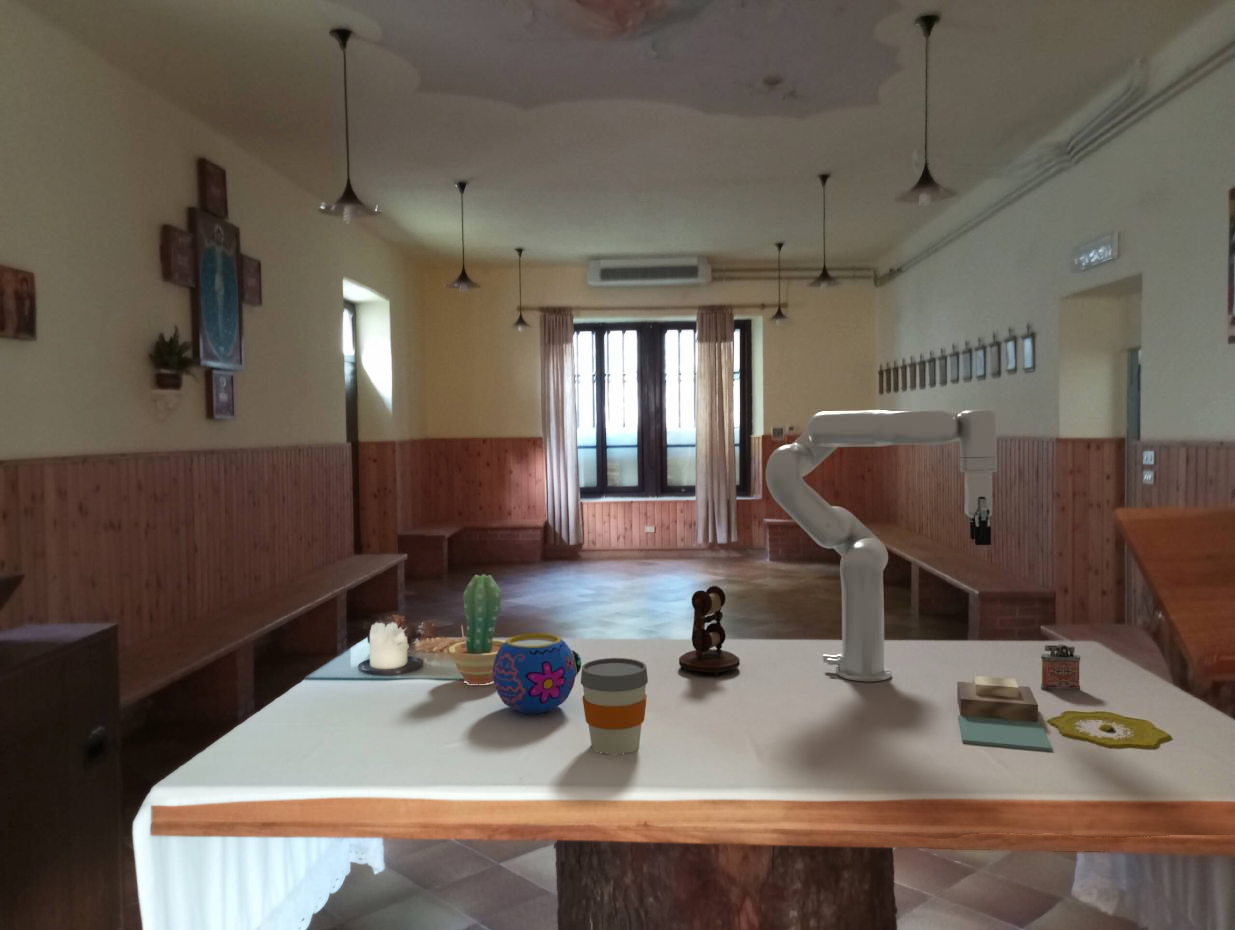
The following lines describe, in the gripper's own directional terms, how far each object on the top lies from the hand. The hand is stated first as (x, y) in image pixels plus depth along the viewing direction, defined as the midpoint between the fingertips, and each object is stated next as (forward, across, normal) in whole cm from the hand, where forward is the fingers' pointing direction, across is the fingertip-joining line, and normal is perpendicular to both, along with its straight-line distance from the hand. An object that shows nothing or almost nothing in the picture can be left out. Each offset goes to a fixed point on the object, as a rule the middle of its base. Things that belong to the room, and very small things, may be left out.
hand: (980, 542), depth 191 cm
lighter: (+33, -2, +16) cm, 37 cm away
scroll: (+31, +1, -62) cm, 70 cm away
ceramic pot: (+31, +39, -92) cm, 105 cm away
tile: (+29, +16, 0) cm, 33 cm away
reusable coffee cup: (+31, +54, -70) cm, 94 cm away
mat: (+33, +30, 0) cm, 45 cm away
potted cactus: (+30, +22, -113) cm, 119 cm away
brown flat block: (+33, +17, 0) cm, 37 cm away
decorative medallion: (+34, +23, +19) cm, 45 cm away
